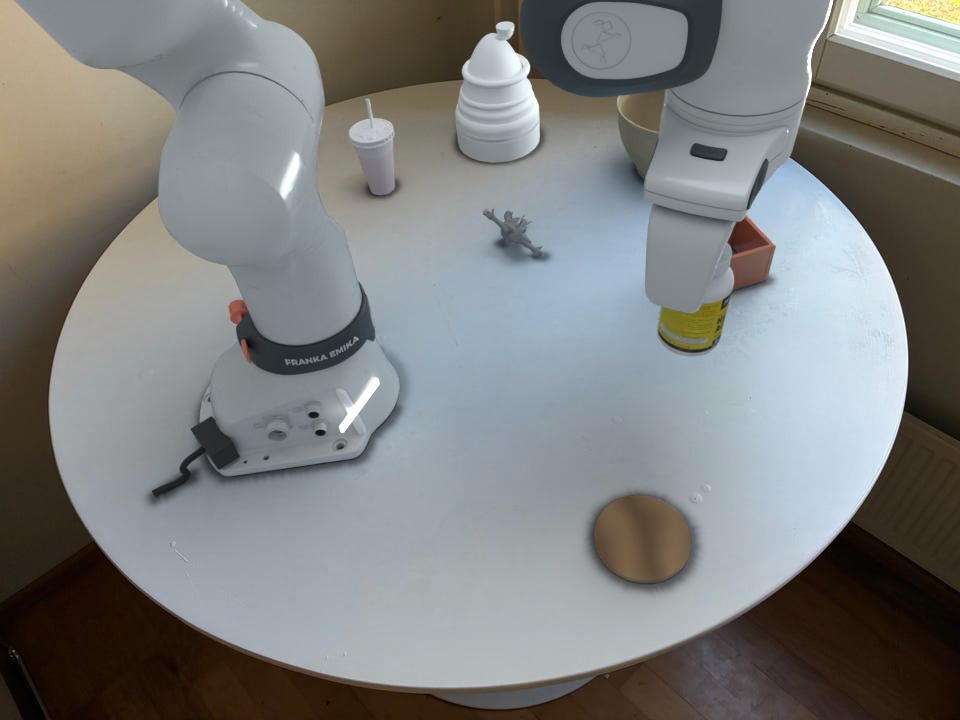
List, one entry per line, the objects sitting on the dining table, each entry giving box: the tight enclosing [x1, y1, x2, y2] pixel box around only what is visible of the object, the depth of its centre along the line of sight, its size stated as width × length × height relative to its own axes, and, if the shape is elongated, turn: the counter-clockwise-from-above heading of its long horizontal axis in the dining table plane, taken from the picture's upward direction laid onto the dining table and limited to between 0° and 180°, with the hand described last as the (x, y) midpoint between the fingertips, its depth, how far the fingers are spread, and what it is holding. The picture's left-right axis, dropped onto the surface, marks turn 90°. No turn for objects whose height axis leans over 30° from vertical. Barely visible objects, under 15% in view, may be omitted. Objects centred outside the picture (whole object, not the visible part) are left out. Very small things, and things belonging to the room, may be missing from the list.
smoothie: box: [348, 97, 396, 196], centre depth 108 cm, size 6×6×14 cm
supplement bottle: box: [656, 243, 734, 358], centre depth 63 cm, size 5×5×10 cm
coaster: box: [593, 494, 692, 584], centre depth 72 cm, size 9×9×1 cm
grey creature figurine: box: [482, 207, 545, 258], centre depth 101 cm, size 10×6×9 cm
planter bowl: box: [616, 90, 665, 180], centre depth 107 cm, size 16×16×11 cm
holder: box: [727, 214, 777, 291], centre depth 94 cm, size 8×8×6 cm
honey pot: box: [454, 21, 541, 163], centre depth 113 cm, size 13×13×18 cm
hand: (699, 275), depth 62 cm, fingers closed on supplement bottle, 5 cm apart
